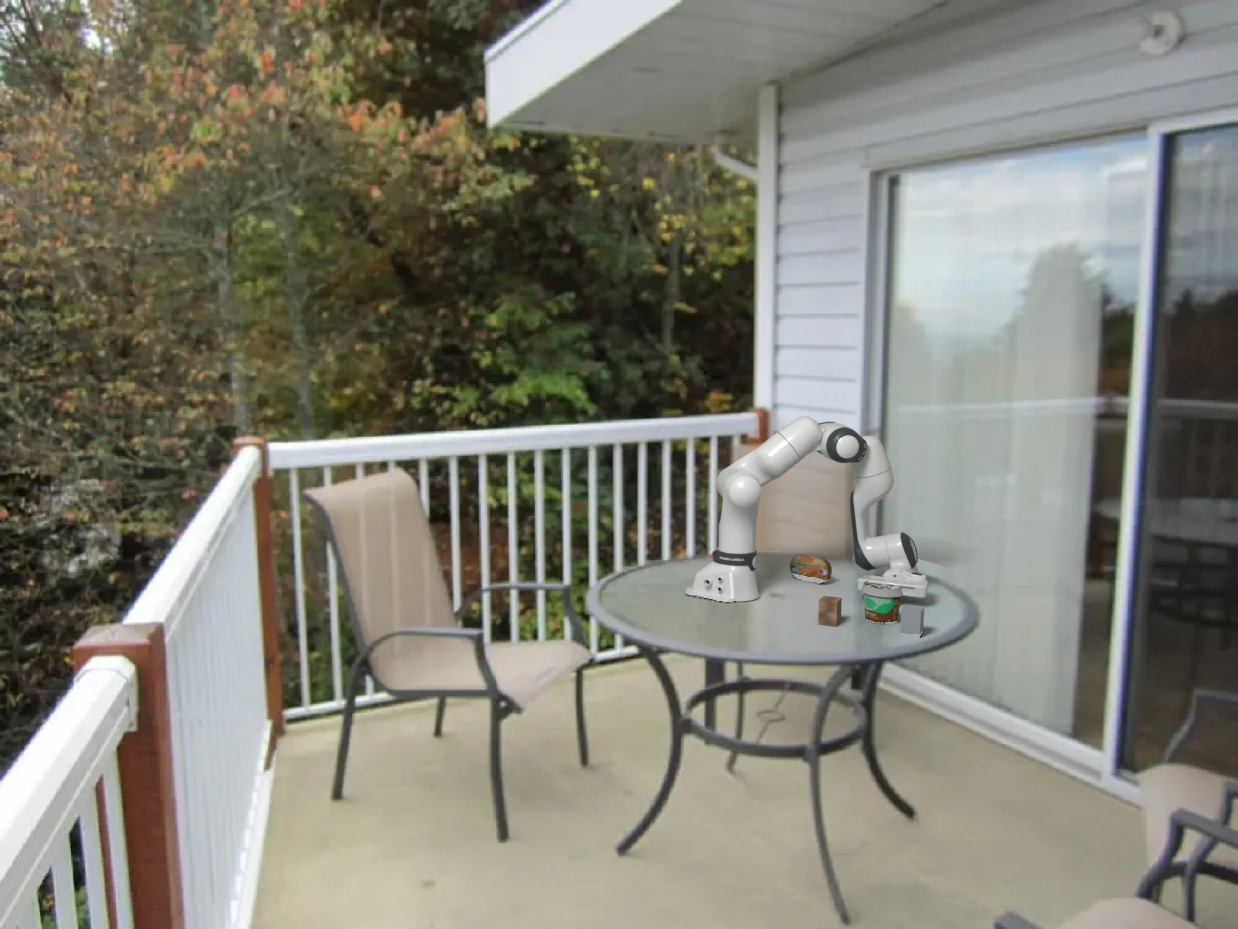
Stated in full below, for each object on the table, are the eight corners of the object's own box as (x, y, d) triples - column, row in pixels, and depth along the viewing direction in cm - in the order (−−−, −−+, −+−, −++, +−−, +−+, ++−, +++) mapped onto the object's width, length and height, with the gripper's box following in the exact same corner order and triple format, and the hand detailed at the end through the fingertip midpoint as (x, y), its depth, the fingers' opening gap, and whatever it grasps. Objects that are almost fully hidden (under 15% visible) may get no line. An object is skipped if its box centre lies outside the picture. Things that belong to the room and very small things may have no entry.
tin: (789, 578, 322) (789, 552, 321) (794, 576, 324) (795, 551, 323) (827, 586, 311) (827, 560, 310) (833, 585, 313) (833, 559, 312)
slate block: (900, 635, 259) (901, 609, 258) (903, 630, 263) (904, 605, 263) (919, 638, 257) (920, 612, 256) (923, 633, 261) (924, 607, 260)
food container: (851, 618, 275) (852, 583, 274) (864, 614, 279) (865, 580, 278) (888, 628, 266) (890, 592, 264) (902, 624, 269) (903, 588, 268)
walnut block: (818, 624, 269) (818, 599, 268) (823, 620, 273) (823, 595, 272) (836, 627, 267) (837, 602, 266) (840, 622, 271) (841, 597, 270)
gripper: (862, 568, 301) (851, 577, 289) (931, 575, 292) (923, 585, 279) (861, 588, 302) (851, 598, 289) (930, 596, 292) (922, 607, 280)
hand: (887, 592), depth 284 cm, fingers closed
